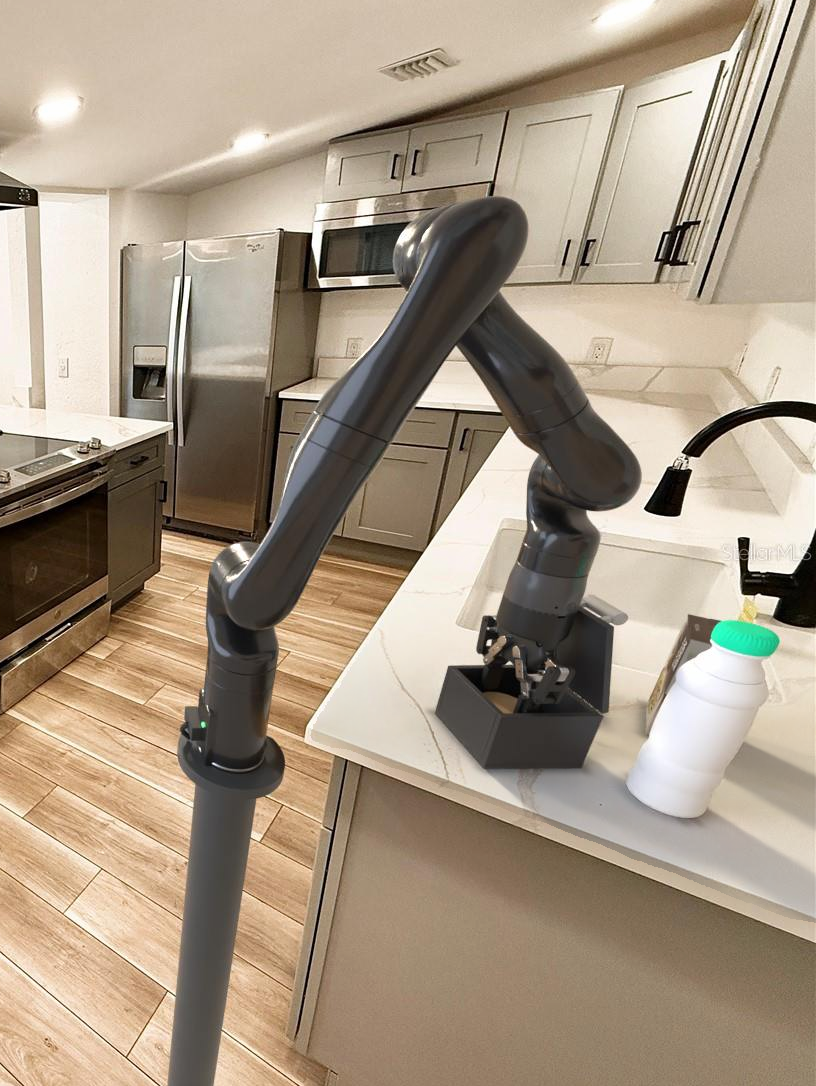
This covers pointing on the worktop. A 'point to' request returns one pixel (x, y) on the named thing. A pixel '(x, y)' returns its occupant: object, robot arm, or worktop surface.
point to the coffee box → (680, 660)
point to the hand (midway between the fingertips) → (504, 702)
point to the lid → (591, 650)
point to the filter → (502, 701)
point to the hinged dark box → (515, 723)
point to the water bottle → (703, 721)
